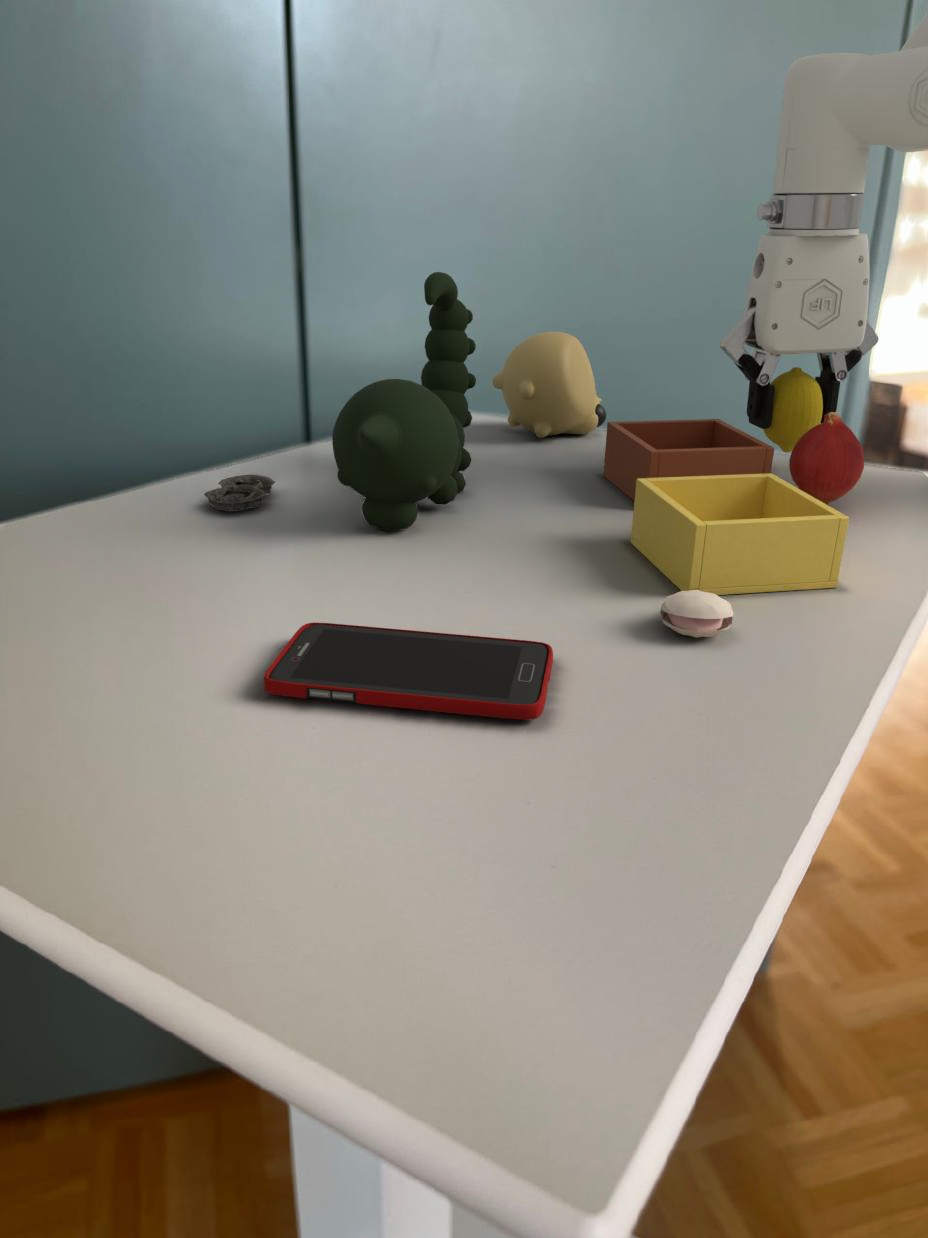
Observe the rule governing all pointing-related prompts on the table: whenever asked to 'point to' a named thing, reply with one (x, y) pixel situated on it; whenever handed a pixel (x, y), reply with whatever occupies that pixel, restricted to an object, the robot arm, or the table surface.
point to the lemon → (794, 408)
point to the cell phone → (414, 670)
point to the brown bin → (680, 451)
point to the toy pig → (550, 386)
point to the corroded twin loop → (240, 492)
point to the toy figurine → (412, 423)
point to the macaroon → (696, 613)
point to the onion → (827, 460)
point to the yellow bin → (737, 533)
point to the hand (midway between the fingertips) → (790, 421)
